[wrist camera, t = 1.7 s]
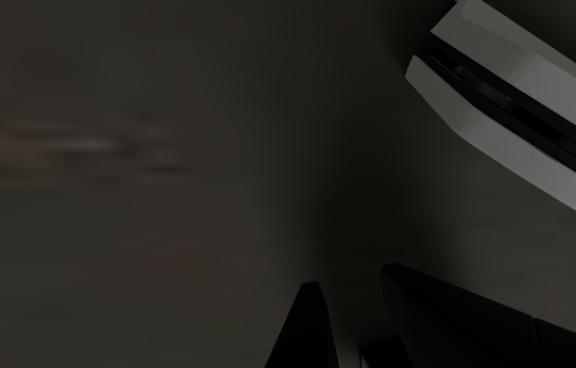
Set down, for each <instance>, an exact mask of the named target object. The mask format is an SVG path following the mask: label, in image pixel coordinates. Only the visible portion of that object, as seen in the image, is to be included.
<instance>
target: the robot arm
mask: <svg viewBox="0 0 576 368" xmlns="http://www.w3.org/2000/svg"><path fill="white" fill-rule="evenodd" d="M380 275H381V282H382V289H383V296H384V300H385V303H386V306H387V308H388V310H389V312H390V315H391V317H392V319H393V322H394V324H395V326H396V328H397V331H398V333H399V335H400V337H401V338H400V339H396V340H391V341H387V342H383V343H378V344H374V345H370V346H366V347H363V348H362V349H361V350H360V359H361V365H362V368H576V332H573V331H570V330H568V329H565V328H562V327H560V326H557V325H554V324H552V323H549V322H547V321H544V320H542V319H539V318H534V320H533V317H532V316H531V315H529V314H526V313H524V312H521V311H519V310H516V309H513V308H511V307H508V306H506V305H503V304H501V303H498V302H496V301H493V300H491V299H488V298H485V297H483V296H480V295H478V294H475V293H473V292H470V291H468V290H465V289H463V288H460V287H457V286H455V285H452V284H450V283H447V282H445V281H442V280H440V279H437V278H435V277H432V276H429V275H427V274H424V273H422V272H419V271H417V270H414V269H412V268H409V267H407V266H404V265H401V264H399V263H391V264H387V265H383V266H381V268H380ZM366 354H369V355H366ZM365 355H366V356H365ZM264 368H339V363H338V358H337V353H336V348H335V343H334V338H333V333H332V328H331V322H330V317H329V312H328V308H327V304H326V301H325V298H324V296H323V293H322V290H321V287H320V285H319V282H318V281H312V282H308V283H303V284H302V285H301V287H300V289H299V291H298V293H297V296H296V298H295V300H294V302H293V305H292V307H291V309H290V311H289V314H288V316H287V318H286V320H285V323H284V325H283V327H282V329H281V332H280V334H279V336H278V338H277V340H276V343H275V345H274V347H273V349H272V352H271V354H270V356H269V358H268V361H267V363H266V365H265V367H264Z"/></svg>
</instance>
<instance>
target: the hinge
mask: <svg viewBox="0 0 576 368" xmlns="http://www.w3.org/2000/svg"><path fill="white" fill-rule="evenodd" d="M454 1H456V2H457V4H456V5H455V6H454V7H453V8H452V9H451V10H450V11H449V12H448V13H447V14H446V15H445V16H444V17H443V18H442V19H441V20H440V21H439V23H438V24H437V25H436V26H435V27H434V28H433V29H432V30H431V31H430V32H432V33H433V34H434V35H436V36H435V38H434V39H433V41H432V42H431V44H432V45H434V46H435V47H437V48H438V49H439V50H441V51H442V52H444V53H445V54H446V55H448V56H449V57H450V58H452V59H453V60H455V61H456V62H457V63H459V64H460V66H459V67H457V68H455V69H452V68H451V67H450V66H448V65H446V64H445V63H443V62H442V61H440V60H438V59H437V58H435V57H433V56H432V55H430V54H428V53H427V52H424V53H423V55H422V56H421V58H419V57H417V56H415V55H413V58H412V60H411V62H410V64H409V66H408V68H407V72H406V75H405V78H406V79H407V80H408V81H409V82H410V84H411V85H412V86H413V87H414V88H415V89H416V90H417V91H418V92H419V93H420V95H421V96H422V97H423V98H424V99H425V100H426V101H427V102H428V103H429V104H430V106H431V107H432V108H433V109H434V110H435V111H436V112H437V113H438V114H439V116H440V117H441V118H442V119H443V120H444V121H445V122H446V123H447V124H448V125H449V127H450V128H451V129H452V130H453V131H454V132H456V133H457V134H458V135H459V136H460V137H462V138H463V139H464V140H466V141H467V142H469V143H470V144H472V145H473V146H475V147H476V148H478V149H479V150H481V151H482V152H484V153H485V154H487V155H488V156H490V157H491V158H493V159H494V160H496V161H497V162H499V163H500V164H502V165H504V166H505V167H507V168H508V169H510V170H511V171H513V172H514V173H516V174H518V175H519V176H521V177H522V178H524V179H525V180H527V181H529V182H530V183H532V184H533V185H535V186H537V187H538V188H540V189H542V190H543V191H545V192H546V193H548V194H550V195H551V196H553V197H555V198H556V199H558V200H559V201H561V202H563V203H564V204H566V205H568V206H569V207H571V208H572V209H574V210H576V63H574V62H573V61H571V60H570V59H568V58H567V57H565V56H564V55H562V54H561V53H559V52H558V51H556V50H555V49H554V48H552V47H551V46H549V45H548V44H546V43H545V42H543V41H542V40H540V39H539V38H537V37H536V36H534V35H533V34H531V33H530V32H528V31H527V30H525V29H524V28H522V27H521V26H519V25H518V24H516V23H515V22H513V21H512V20H510V19H509V18H507V17H506V16H504V15H503V14H501V13H500V12H498V11H497V10H495V9H494V8H492V7H491V6H489V5H488V4H486V3H485V2H483V1H482V0H454ZM516 104H518V105H520V106H521V107H523V108H525V109H526V110H528V111H529V112H531V113H532V114H534V115H536V116H537V117H539V118H540V119H542V120H544V121H545V122H547V123H548V124H550V125H551V126H553V127H555V128H556V129H558V130H559V131H561V132H563V133H564V135H562V136H561V137H558V138H556V139H549V138H548V137H546V136H544V135H543V134H541V133H539V132H538V131H536V130H534V129H533V128H531V127H529V126H528V125H526V124H524V123H523V122H521V121H520V120H518V119H517V118H515V117H514V116H513V115H512V113H511V112H512V110H513V107H514V106H515V105H516Z"/></svg>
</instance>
